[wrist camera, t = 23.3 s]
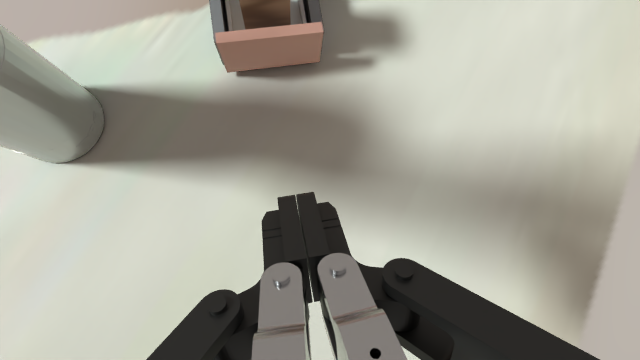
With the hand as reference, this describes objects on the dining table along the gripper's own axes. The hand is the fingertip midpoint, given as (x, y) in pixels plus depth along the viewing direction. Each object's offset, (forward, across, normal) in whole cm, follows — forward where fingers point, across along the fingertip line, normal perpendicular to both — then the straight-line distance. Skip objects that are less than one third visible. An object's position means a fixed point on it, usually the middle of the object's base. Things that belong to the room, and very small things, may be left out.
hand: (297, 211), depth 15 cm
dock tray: (+35, -1, 0) cm, 35 cm away
